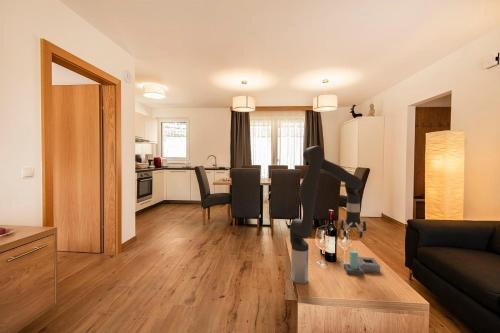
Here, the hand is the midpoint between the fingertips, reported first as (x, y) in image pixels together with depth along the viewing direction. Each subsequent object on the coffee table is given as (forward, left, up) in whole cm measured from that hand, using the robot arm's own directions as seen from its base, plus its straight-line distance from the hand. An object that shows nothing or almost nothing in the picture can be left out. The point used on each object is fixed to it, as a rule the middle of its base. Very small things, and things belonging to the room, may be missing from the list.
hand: (352, 237), depth 144 cm
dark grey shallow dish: (-1, -1, -20) cm, 20 cm away
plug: (-1, -1, -21) cm, 21 cm away
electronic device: (+24, +11, -21) cm, 34 cm away
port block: (+6, -11, -20) cm, 24 cm away
